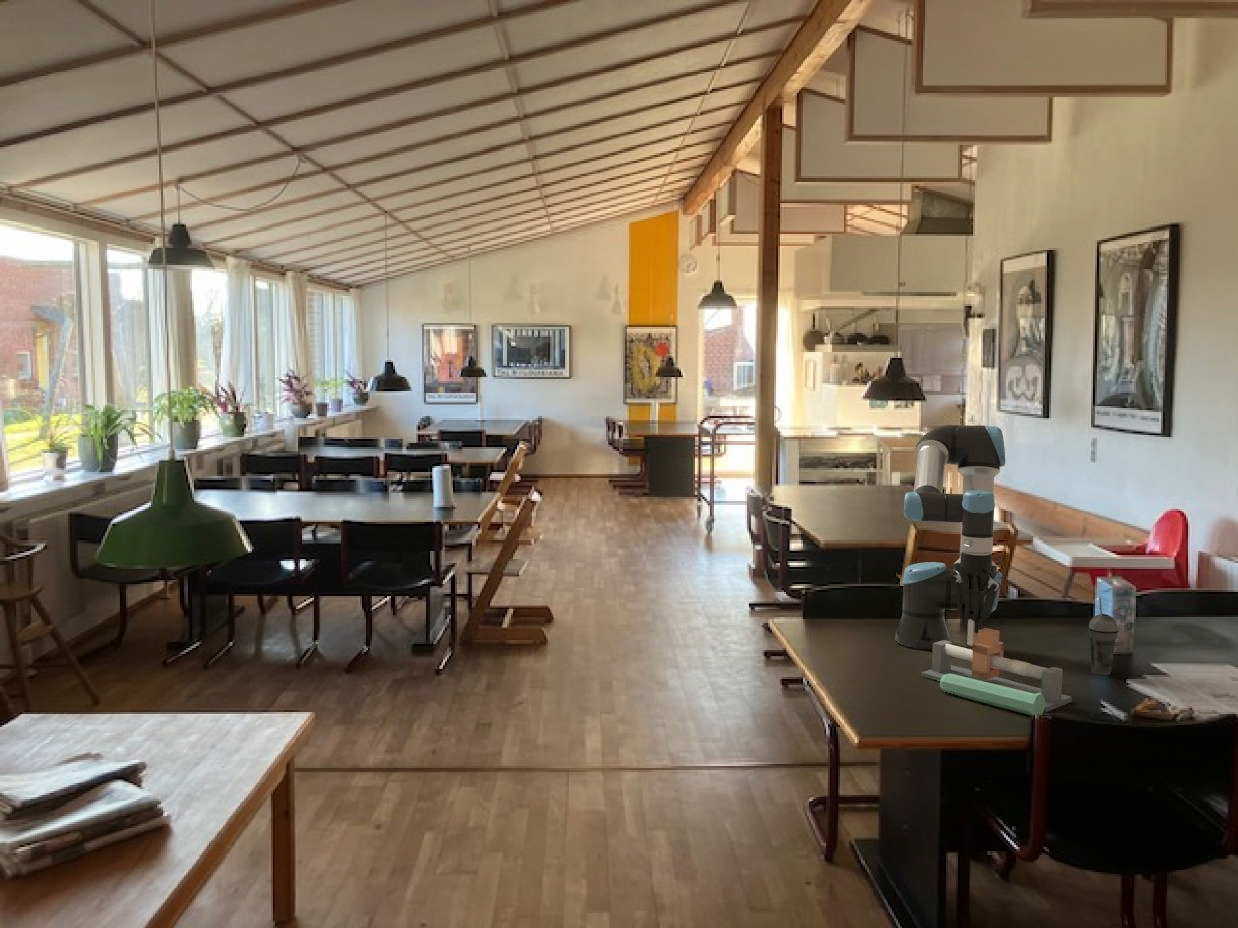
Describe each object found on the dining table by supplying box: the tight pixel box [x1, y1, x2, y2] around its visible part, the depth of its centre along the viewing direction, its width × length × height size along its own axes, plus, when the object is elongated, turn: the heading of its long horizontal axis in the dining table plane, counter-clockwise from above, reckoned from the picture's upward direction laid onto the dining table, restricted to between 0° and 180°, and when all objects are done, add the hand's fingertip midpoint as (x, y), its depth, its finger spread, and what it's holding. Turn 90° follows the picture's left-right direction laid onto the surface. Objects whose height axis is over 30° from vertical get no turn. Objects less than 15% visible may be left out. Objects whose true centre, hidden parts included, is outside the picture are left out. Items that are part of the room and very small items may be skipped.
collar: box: [971, 627, 1005, 680], centre depth 253 cm, size 4×7×12 cm, turn 129°
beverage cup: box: [1087, 597, 1119, 676], centre depth 265 cm, size 7×7×20 cm
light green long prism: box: [939, 674, 1045, 717], centre depth 242 cm, size 6×6×25 cm
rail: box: [920, 640, 1073, 713], centre depth 252 cm, size 34×12×9 cm, turn 39°
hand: (972, 644), depth 256 cm, fingers closed
